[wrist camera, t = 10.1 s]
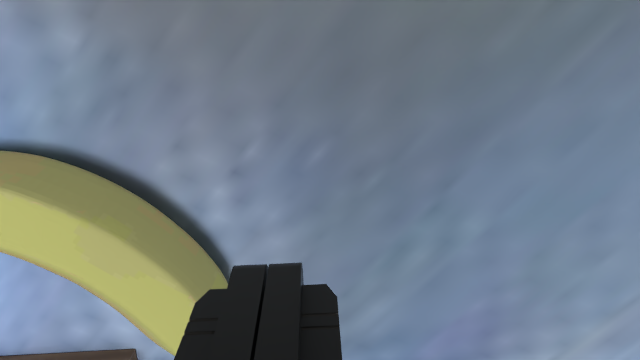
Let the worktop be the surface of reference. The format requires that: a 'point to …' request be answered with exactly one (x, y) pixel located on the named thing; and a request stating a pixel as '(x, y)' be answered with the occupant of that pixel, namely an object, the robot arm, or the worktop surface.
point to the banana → (104, 243)
